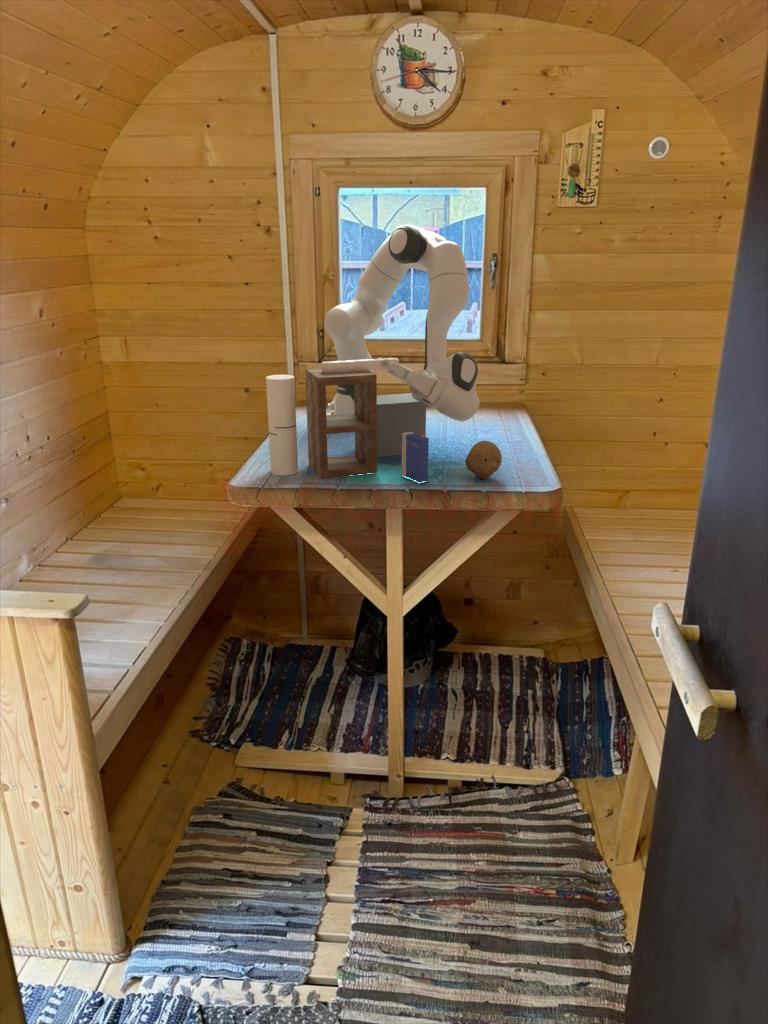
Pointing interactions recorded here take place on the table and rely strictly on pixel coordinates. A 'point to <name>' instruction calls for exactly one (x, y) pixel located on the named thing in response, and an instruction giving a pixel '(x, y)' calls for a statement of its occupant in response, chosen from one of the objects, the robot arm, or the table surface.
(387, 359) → the tan bar
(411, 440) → the walkman
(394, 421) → the block
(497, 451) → the natural sponge
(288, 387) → the cylindrical container
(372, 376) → the walnut shelf
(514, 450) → the table surface
